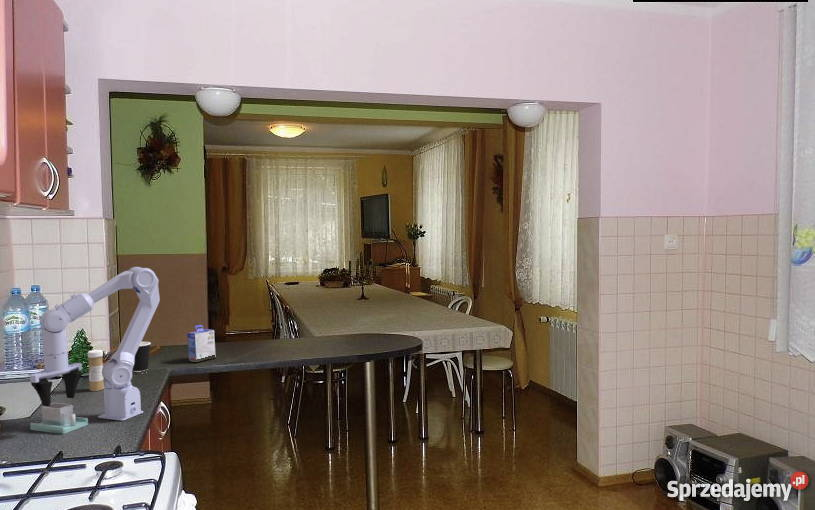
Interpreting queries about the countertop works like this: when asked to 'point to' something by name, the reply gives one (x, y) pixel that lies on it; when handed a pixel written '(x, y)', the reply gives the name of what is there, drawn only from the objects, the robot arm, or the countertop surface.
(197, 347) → the ink cartridge box
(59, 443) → the countertop surface
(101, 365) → the sprinkles bottle
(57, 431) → the teal base with pegs
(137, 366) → the dixie cup
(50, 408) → the drive block
